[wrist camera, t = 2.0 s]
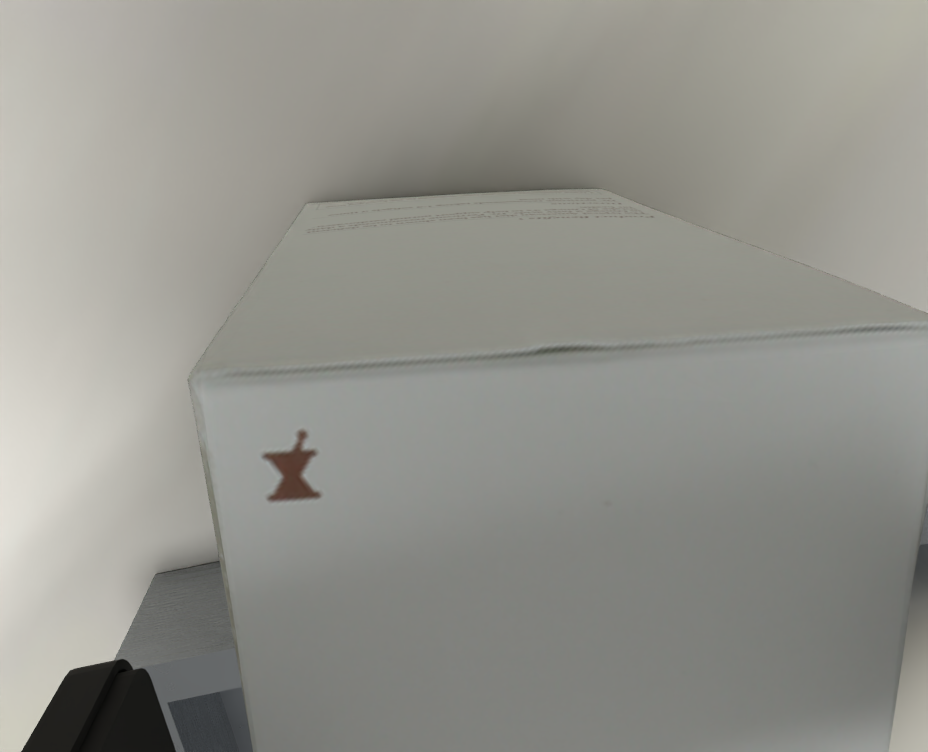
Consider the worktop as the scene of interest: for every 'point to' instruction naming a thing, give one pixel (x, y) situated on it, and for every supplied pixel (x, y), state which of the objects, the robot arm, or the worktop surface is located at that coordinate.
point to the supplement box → (561, 484)
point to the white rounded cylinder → (914, 669)
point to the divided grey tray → (199, 658)
